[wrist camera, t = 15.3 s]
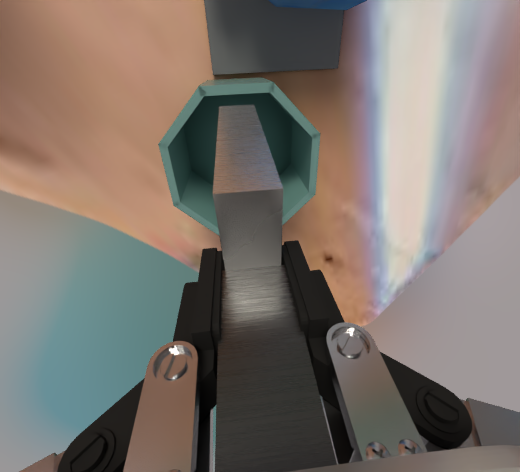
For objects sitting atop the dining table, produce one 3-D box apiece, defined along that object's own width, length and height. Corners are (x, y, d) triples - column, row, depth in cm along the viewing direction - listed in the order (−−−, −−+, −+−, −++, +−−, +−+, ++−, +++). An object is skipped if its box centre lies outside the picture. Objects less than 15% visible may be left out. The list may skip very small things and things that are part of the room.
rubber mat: (350, -68, 21) (352, -70, 20) (336, 68, 26) (338, 68, 25) (196, -65, 20) (196, -67, 20) (213, 74, 25) (213, 74, 24)
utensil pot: (297, 74, 26) (325, 79, 18) (293, 191, 32) (312, 229, 25) (170, 81, 25) (144, 88, 17) (193, 198, 32) (182, 240, 24)
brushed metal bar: (257, 104, 15) (605, 993, 1) (261, 227, 21) (333, 634, 7) (215, 106, 15) (94, 1137, 1) (231, 229, 21) (243, 650, 7)
